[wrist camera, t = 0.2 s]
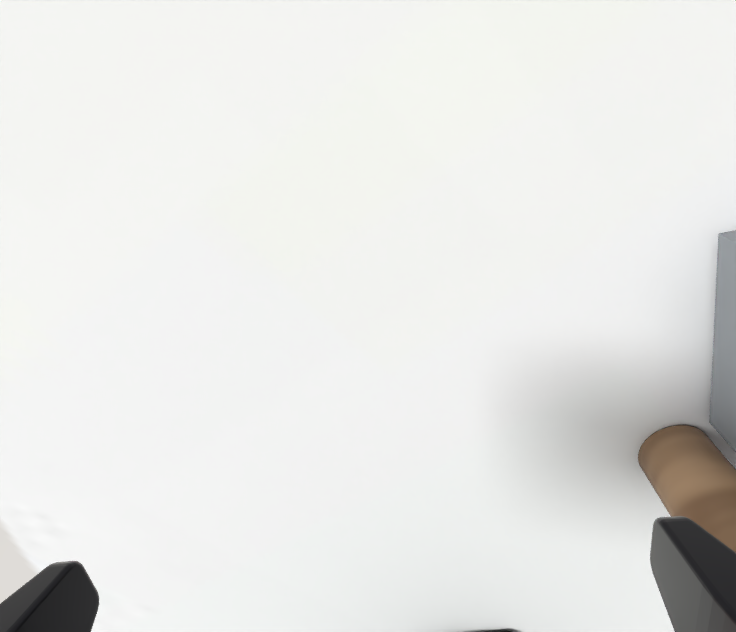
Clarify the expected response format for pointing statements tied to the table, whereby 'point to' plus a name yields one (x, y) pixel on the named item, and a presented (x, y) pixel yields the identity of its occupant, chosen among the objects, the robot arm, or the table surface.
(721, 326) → the socket
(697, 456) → the peg
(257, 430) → the table surface
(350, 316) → the table surface
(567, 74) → the table surface
